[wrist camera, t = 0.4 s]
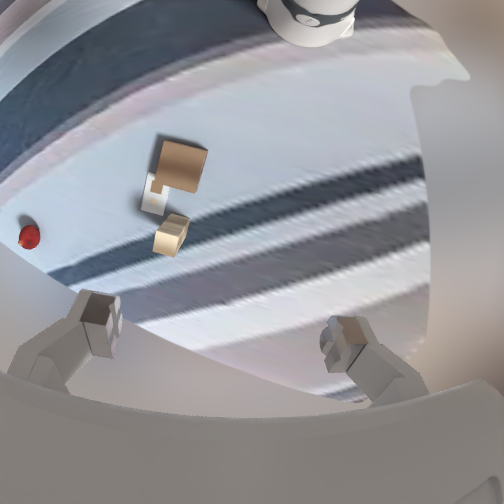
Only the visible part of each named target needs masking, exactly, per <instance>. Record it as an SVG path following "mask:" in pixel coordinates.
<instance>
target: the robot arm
mask: <svg viewBox="0 0 504 504" xmlns="http://www.w3.org/2000/svg"><path fill="white" fill-rule="evenodd" d="M358 2H359V0H258V2H257V6H258V7H259V8H260V9H261V10H262V11H263V12H264V13H265V14H266V16H267V18H268V21H269V23H270V25H271V27H272V28H273V30H274V31H275V32H276V33H277V34H278V35H279V36H280V37H282V38H283V39H284V40H286V41H288V42H290V43H292V44H295V45H298V46H303V47H320V46H324V45H326V44H329V43H330V42H332V41H334V40H336V39H340V38H348V37H350V36H351V35H352V34H353V24H354V20H355V18H354V10H355V9H356V6H357V5H358ZM119 306H120V297H119V296H118V295H114V294H109V293H103V292H98V291H91V290H86V289H81V290H80V291H79V293H78V295H77V297H76V299H75V301H74V303H73V305H72V307H71V309H70V312H69V313H68V315H67V317H66V319H65V318H62V319H60V320H59V321H57V322H56V323H54V324H53V325H51V326H50V327H48V328H46V329H45V330H44V331H42V332H41V333H39V334H37V335H36V336H35V337H33V338H32V339H30V340H29V341H27V342H25V343H24V344H23V345H21V346H20V347H19V348H18V349H17V352H16V354H15V356H14V358H13V360H12V362H11V365H10V367H9V370H8V372H7V373H5V372H2V371H0V504H504V398H503V396H502V395H501V394H500V393H499V392H498V391H497V390H496V389H495V388H494V387H492V386H491V385H490V384H488V383H487V382H485V381H484V380H480V379H478V380H474V381H472V382H469V383H466V384H463V385H460V386H457V387H454V388H451V389H447V390H444V391H441V392H438V393H434V394H430V393H429V391H428V389H427V387H426V385H425V383H424V381H423V379H422V377H421V375H420V373H419V372H417V371H416V370H415V369H414V368H412V367H411V366H410V365H408V364H407V363H406V362H405V361H403V360H402V359H401V358H400V357H398V356H397V355H396V354H394V353H393V352H392V351H391V350H389V349H388V348H387V347H385V346H384V345H383V344H379V342H378V340H377V338H376V336H375V334H374V332H373V331H372V329H371V327H370V325H369V323H368V321H367V319H366V318H365V317H364V316H331V317H330V318H329V320H328V321H327V324H328V327H327V328H325V329H324V330H323V331H322V333H321V335H320V348H321V352H322V353H324V354H325V355H326V357H325V360H324V361H325V364H326V367H327V370H328V373H341V372H346V374H347V375H348V376H349V377H350V378H351V379H352V380H353V381H354V382H355V383H356V385H357V386H358V387H359V388H360V389H361V390H362V391H363V392H364V393H365V394H366V395H367V396H368V397H369V398H370V400H371V401H372V403H371V404H370V405H369V406H368V407H367V408H366V409H360V410H354V411H346V412H339V413H330V414H320V415H310V416H297V417H276V418H223V417H203V416H189V415H178V414H169V413H161V412H153V411H146V410H139V409H134V408H128V407H122V406H117V405H112V404H107V403H102V402H98V401H93V400H89V399H84V398H81V397H77V396H73V395H71V394H70V393H69V391H68V389H67V387H66V386H65V383H66V382H67V381H68V380H69V379H70V378H71V377H72V376H73V375H74V374H75V373H76V372H77V371H78V370H79V369H80V368H81V367H82V366H83V365H84V364H85V363H86V362H87V361H88V360H89V359H91V358H92V355H94V356H99V357H105V358H111V359H113V358H114V355H115V351H116V347H117V342H116V338H118V337H119V336H120V333H121V328H122V312H121V311H120V310H119Z"/></svg>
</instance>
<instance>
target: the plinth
mask: <svg viewBox="0 0 504 504" xmlns="http://www.w3.org/2000/svg"><path fill="white" fill-rule="evenodd" d="M207 153H208V150H205V149H201V148H197V147H193V146H189V145H185V144H181V143H177V142H173V141H164V143H163V146H162V150H161V154H160V158H159V162H158V166H157V171H156V175H155V179H154V183H157V184H161V185H165V186H169V187H172V188H176V189H180V190H184V191H187V192H191V193H195V192H196V191H197V189H198V185H199V181H200V178H201V174H202V170H203V167H204V163H205V160H206V156H207Z"/></svg>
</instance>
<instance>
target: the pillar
mask: <svg viewBox="0 0 504 504" xmlns="http://www.w3.org/2000/svg"><path fill="white" fill-rule="evenodd" d="M189 221H190V218H187V217H183V216H180V215H176V214H173V213H171V214H170V215H169V216H168V218H167V219H166V220H165V221H164V222H163V223H162V225H161V226H160V227H159V228H158V229H157V231H156V236H155V241H154V247H153V251H154V252H157V253H160V254H164V255H167V256H171V257H175V255H176V253H177V251H178V250H179V248H180V246H181V244H182V242H183V240H184V239H185V237H186V233H187V229H188V225H189Z"/></svg>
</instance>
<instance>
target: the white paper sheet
mask: <svg viewBox="0 0 504 504" xmlns="http://www.w3.org/2000/svg"><path fill="white" fill-rule="evenodd" d="M155 175H156V174H154V173H150V172H148V175H147V180H146V185H145V190H144V195H143V200H142V206H141V210H143V211H146V212H150V213H154V214H157V215H161V216H163V215H164V211H165V206H166V201H167V197H168V192H169V188H170V187H169V186H165V185H161V184H157V183H154V179H155Z"/></svg>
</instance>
